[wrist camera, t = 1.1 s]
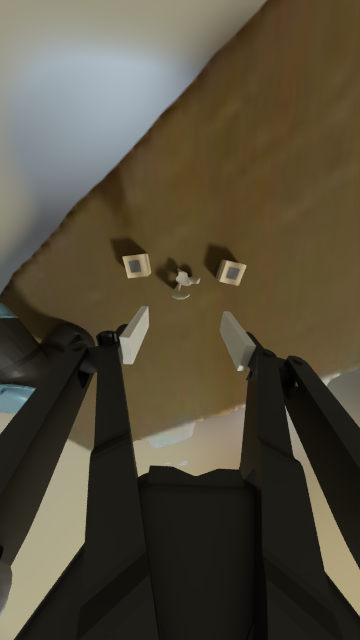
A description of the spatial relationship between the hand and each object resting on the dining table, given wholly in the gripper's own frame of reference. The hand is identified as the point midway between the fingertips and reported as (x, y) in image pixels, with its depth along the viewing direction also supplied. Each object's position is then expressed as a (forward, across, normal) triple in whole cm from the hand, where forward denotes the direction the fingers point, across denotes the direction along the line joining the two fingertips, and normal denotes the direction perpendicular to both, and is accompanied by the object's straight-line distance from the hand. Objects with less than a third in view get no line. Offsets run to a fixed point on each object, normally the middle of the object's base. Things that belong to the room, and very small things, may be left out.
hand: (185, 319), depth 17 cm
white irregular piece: (+26, 0, 0) cm, 26 cm away
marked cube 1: (+26, +12, +3) cm, 28 cm away
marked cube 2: (+26, -12, +3) cm, 28 cm away
